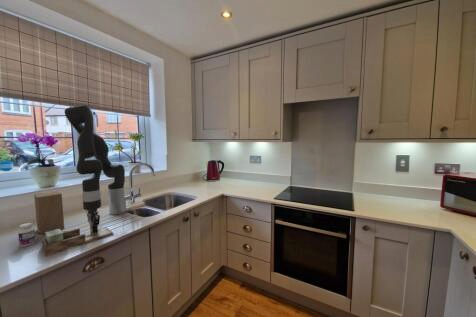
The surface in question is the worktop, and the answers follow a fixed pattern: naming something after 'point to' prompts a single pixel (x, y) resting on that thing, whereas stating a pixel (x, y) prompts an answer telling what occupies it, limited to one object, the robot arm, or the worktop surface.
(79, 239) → the lane
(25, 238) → the pill bottle
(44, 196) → the wooden block
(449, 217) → the worktop surface
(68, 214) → the worktop surface
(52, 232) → the string block
